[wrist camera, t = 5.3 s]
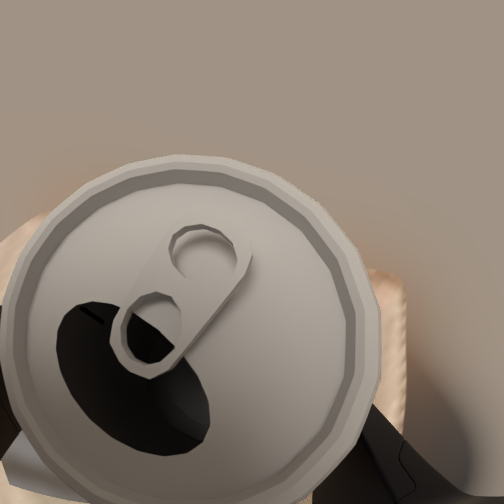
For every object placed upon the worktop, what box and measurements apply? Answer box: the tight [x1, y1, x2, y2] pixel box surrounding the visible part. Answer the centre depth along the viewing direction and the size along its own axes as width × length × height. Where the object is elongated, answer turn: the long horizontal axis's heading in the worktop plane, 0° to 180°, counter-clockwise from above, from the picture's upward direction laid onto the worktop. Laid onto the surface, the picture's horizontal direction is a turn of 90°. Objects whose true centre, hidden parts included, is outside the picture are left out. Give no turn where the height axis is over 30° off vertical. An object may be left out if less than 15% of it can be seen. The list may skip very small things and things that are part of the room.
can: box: [0, 154, 381, 504], centre depth 8 cm, size 8×8×12 cm
